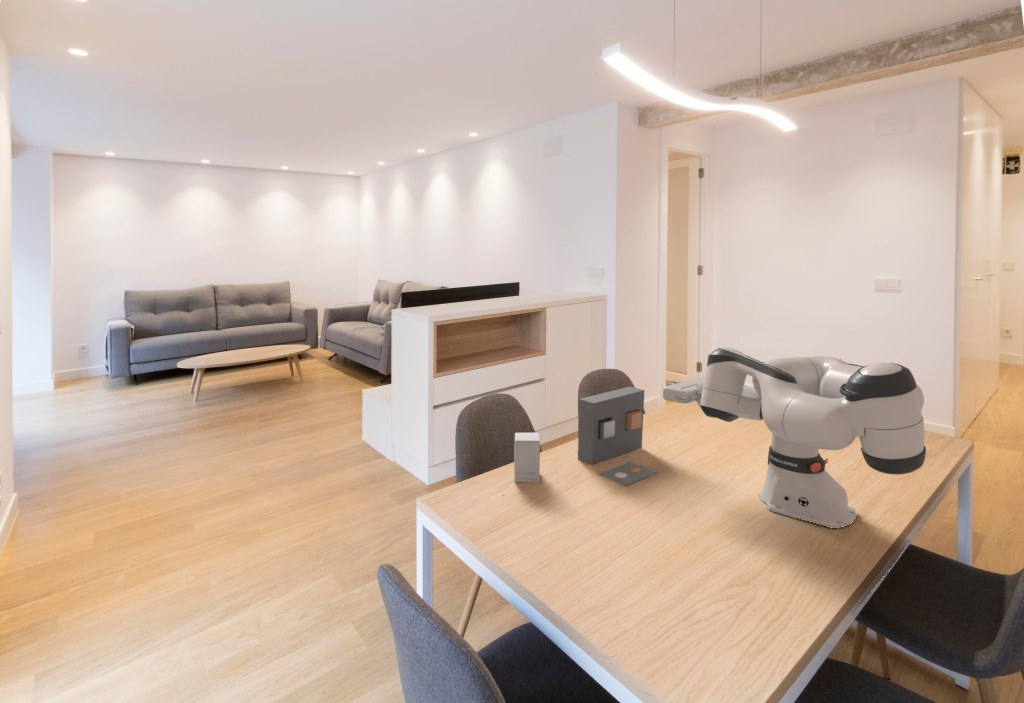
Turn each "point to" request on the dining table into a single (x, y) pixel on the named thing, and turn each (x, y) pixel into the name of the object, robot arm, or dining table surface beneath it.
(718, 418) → the robot arm
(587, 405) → the panel
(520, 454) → the supplement box
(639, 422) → the button terracotta
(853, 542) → the dining table surface
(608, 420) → the grey button
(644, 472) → the pattern card
